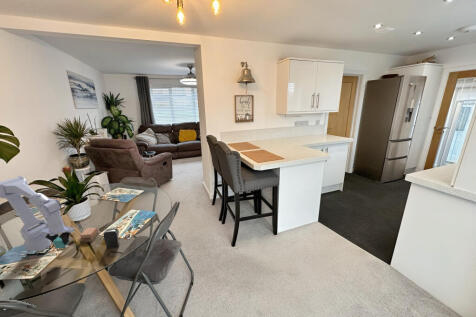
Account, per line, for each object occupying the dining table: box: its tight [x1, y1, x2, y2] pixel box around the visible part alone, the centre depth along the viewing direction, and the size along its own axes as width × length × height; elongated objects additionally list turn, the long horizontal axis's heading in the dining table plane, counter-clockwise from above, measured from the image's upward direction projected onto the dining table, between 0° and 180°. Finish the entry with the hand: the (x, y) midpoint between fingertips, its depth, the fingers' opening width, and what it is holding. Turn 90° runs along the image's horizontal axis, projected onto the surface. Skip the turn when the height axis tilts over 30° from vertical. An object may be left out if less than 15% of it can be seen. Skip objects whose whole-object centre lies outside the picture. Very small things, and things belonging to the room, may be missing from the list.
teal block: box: [52, 235, 70, 250], centre depth 99 cm, size 4×4×5 cm
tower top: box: [80, 227, 98, 238], centre depth 115 cm, size 6×6×2 cm
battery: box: [102, 228, 121, 249], centre depth 109 cm, size 7×4×11 cm, turn 104°
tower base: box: [78, 230, 100, 243], centre depth 115 cm, size 7×7×2 cm
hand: (61, 243), depth 99 cm, fingers closed on teal block, 4 cm apart
